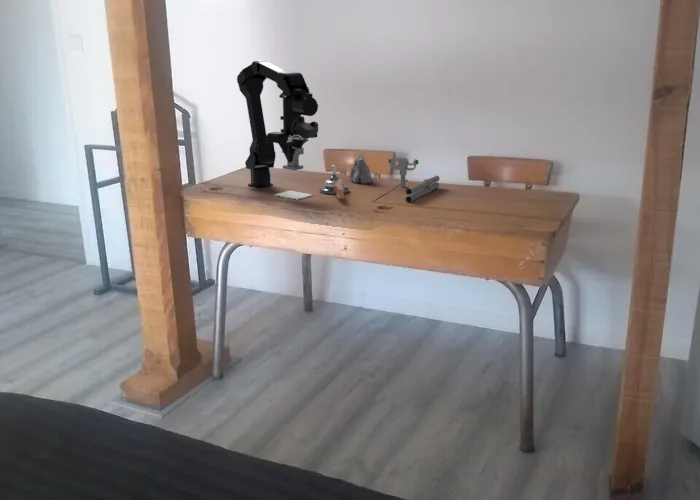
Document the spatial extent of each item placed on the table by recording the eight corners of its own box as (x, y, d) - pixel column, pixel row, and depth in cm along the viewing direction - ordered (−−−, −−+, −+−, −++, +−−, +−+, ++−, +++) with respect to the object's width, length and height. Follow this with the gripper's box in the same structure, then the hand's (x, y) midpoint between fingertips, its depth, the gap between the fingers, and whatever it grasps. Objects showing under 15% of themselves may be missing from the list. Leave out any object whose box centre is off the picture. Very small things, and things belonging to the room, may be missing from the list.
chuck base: (313, 191, 238) (313, 188, 237) (331, 187, 245) (331, 184, 245) (336, 195, 232) (336, 193, 231) (354, 190, 239) (354, 188, 239)
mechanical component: (416, 188, 244) (417, 159, 241) (387, 187, 246) (388, 158, 243) (417, 186, 247) (418, 158, 244) (388, 185, 249) (389, 157, 246)
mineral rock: (354, 176, 264) (354, 149, 261) (381, 178, 260) (381, 151, 257) (341, 182, 253) (341, 155, 250) (369, 185, 249) (369, 157, 246)
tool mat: (274, 195, 231) (274, 194, 231) (289, 192, 237) (289, 190, 237) (297, 200, 226) (297, 198, 225) (312, 196, 231) (312, 194, 231)
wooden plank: (324, 186, 240) (324, 163, 238) (341, 185, 241) (341, 163, 239) (332, 199, 222) (332, 175, 219) (350, 198, 223) (350, 174, 220)
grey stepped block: (280, 168, 229) (280, 146, 227) (289, 166, 232) (289, 145, 230) (296, 170, 225) (296, 149, 223) (305, 168, 228) (305, 147, 226)
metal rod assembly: (412, 203, 223) (412, 188, 222) (404, 202, 224) (404, 187, 223) (440, 188, 245) (441, 174, 243) (433, 188, 246) (433, 174, 245)
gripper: (291, 117, 212) (292, 168, 216) (330, 112, 226) (330, 160, 230) (264, 114, 218) (265, 164, 223) (304, 110, 232) (304, 157, 237)
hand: (292, 161), depth 228 cm, fingers closed on grey stepped block, 3 cm apart
